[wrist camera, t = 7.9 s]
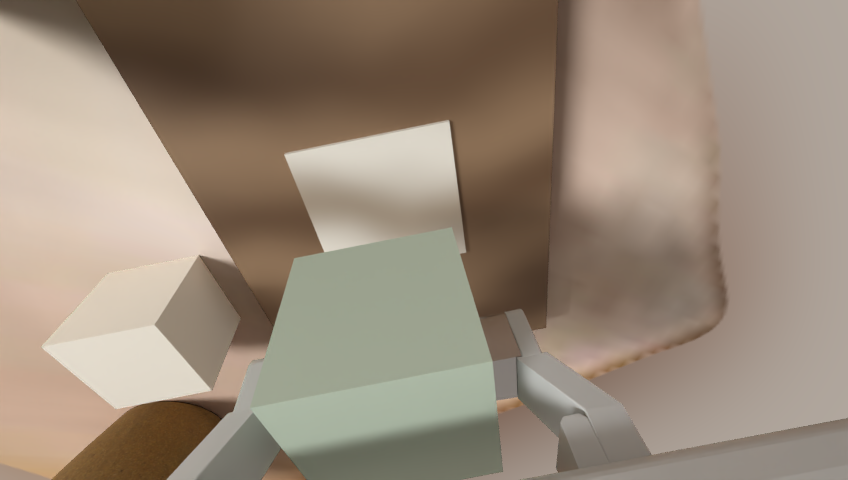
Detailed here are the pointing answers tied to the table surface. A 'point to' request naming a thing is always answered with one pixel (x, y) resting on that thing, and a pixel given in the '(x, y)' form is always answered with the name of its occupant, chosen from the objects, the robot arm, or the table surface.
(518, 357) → the robot arm
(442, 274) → the sage green block
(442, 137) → the board
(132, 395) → the cream block
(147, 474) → the plant pot
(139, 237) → the table surface
